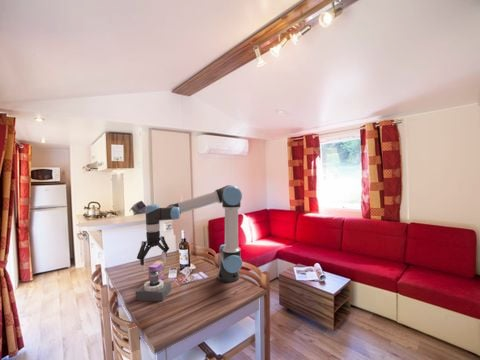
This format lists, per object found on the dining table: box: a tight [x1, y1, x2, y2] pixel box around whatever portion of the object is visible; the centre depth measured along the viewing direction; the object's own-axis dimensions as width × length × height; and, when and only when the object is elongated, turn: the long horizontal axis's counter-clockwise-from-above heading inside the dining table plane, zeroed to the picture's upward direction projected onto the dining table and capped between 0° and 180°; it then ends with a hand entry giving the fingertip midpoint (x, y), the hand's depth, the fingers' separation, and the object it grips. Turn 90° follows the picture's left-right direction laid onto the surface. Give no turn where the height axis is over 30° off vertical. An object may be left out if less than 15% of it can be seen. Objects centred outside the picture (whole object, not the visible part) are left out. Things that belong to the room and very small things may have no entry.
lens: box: [150, 270, 159, 286], centre depth 135 cm, size 5×5×9 cm
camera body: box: [135, 279, 172, 302], centre depth 135 cm, size 16×12×7 cm
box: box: [148, 260, 165, 281], centre depth 154 cm, size 10×6×12 cm, turn 168°
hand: (154, 266), depth 135 cm, fingers open, 13 cm apart
